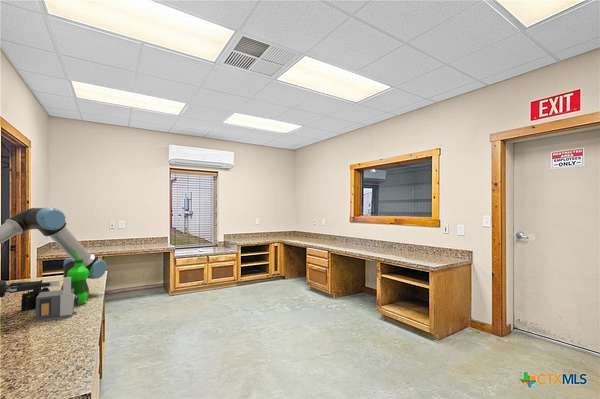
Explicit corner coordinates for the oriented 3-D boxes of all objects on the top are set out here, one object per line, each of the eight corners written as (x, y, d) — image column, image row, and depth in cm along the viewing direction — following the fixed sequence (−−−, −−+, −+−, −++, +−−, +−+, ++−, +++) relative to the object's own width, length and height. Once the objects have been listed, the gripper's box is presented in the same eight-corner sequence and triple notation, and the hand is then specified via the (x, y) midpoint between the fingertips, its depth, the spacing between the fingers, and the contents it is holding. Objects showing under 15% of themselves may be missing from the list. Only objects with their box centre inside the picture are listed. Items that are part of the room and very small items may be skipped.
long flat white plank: (60, 315, 150) (61, 277, 151) (72, 313, 153) (73, 276, 154) (59, 316, 149) (60, 278, 150) (72, 314, 152) (73, 277, 153)
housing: (39, 314, 156) (40, 292, 156) (79, 308, 165) (79, 287, 165) (34, 322, 144) (35, 298, 145) (77, 315, 153) (77, 293, 154)
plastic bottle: (88, 300, 179) (89, 257, 180) (88, 304, 171) (89, 260, 172) (66, 303, 174) (67, 259, 174) (65, 308, 165) (67, 261, 166)
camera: (34, 312, 159) (35, 292, 159) (17, 311, 160) (18, 292, 161) (60, 304, 172) (60, 286, 173) (44, 303, 174) (44, 285, 174)
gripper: (-4, 294, 142) (60, 287, 155) (-13, 301, 131) (57, 293, 144) (-3, 278, 143) (60, 272, 156) (-12, 284, 132) (57, 277, 145)
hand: (59, 282), depth 150 cm, fingers closed
